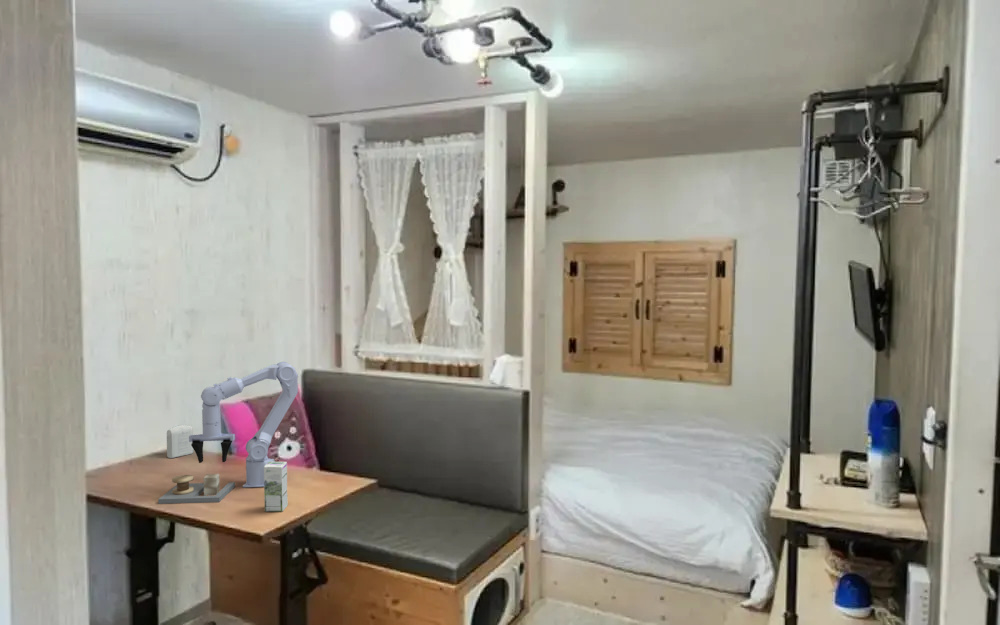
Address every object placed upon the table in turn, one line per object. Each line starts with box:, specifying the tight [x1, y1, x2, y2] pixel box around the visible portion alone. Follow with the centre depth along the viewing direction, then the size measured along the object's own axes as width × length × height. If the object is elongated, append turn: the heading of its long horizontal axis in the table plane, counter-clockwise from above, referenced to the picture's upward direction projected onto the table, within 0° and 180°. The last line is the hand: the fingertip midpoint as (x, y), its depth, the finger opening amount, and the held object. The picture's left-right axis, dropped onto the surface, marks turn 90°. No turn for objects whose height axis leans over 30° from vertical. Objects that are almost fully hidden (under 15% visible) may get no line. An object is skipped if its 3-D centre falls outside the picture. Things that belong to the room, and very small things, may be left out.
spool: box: [171, 474, 194, 495], centre depth 216 cm, size 6×6×5 cm
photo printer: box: [166, 424, 194, 459], centre depth 266 cm, size 10×4×12 cm, turn 147°
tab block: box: [203, 473, 221, 496], centre depth 219 cm, size 4×4×6 cm
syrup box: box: [263, 461, 289, 513], centre depth 204 cm, size 6×6×14 cm
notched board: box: [157, 481, 236, 505], centre depth 217 cm, size 19×16×2 cm
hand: (212, 461), depth 222 cm, fingers open, 7 cm apart
